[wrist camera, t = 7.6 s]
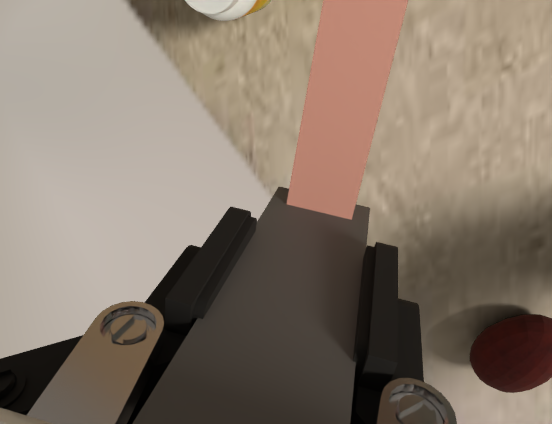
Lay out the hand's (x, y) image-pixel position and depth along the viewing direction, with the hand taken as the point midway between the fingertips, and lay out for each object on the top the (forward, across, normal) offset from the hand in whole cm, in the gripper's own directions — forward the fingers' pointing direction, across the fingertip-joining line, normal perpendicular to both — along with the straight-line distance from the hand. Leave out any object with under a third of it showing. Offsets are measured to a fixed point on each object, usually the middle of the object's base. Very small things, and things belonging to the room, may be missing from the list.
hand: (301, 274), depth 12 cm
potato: (+29, -20, +22) cm, 42 cm away
